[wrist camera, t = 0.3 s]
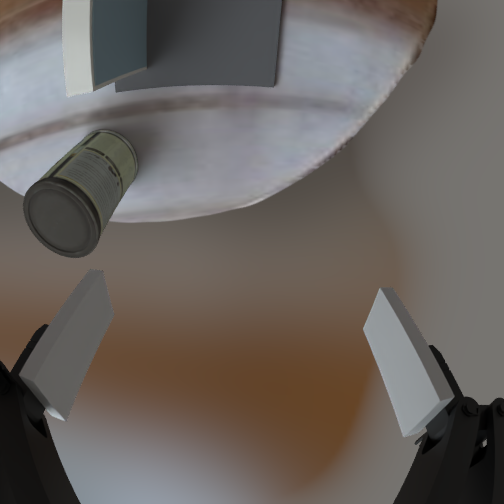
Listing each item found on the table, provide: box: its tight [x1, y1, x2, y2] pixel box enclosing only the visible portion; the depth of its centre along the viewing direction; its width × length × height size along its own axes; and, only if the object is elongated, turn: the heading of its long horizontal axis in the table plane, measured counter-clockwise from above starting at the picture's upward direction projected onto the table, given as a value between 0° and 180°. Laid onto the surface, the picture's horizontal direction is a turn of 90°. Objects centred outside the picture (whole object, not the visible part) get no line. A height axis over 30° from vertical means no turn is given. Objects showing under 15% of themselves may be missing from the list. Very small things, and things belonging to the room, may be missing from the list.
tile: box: [62, 0, 147, 97], centre depth 17 cm, size 10×3×13 cm, turn 176°
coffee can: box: [23, 130, 138, 258], centre depth 29 cm, size 10×10×14 cm
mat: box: [115, 0, 282, 92], centre depth 22 cm, size 15×19×1 cm
